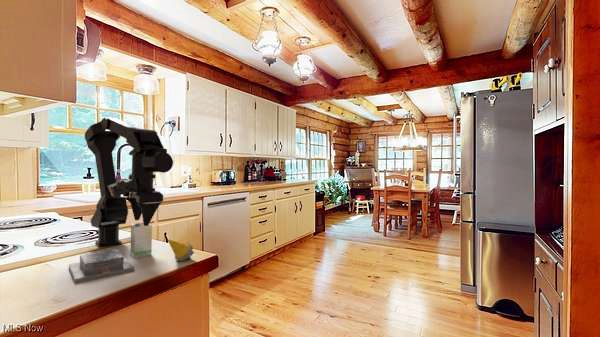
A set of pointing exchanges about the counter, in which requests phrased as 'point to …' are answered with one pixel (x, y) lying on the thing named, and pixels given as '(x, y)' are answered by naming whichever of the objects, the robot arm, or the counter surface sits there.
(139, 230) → the column
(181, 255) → the yellow-green tapered piece
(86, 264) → the stand
